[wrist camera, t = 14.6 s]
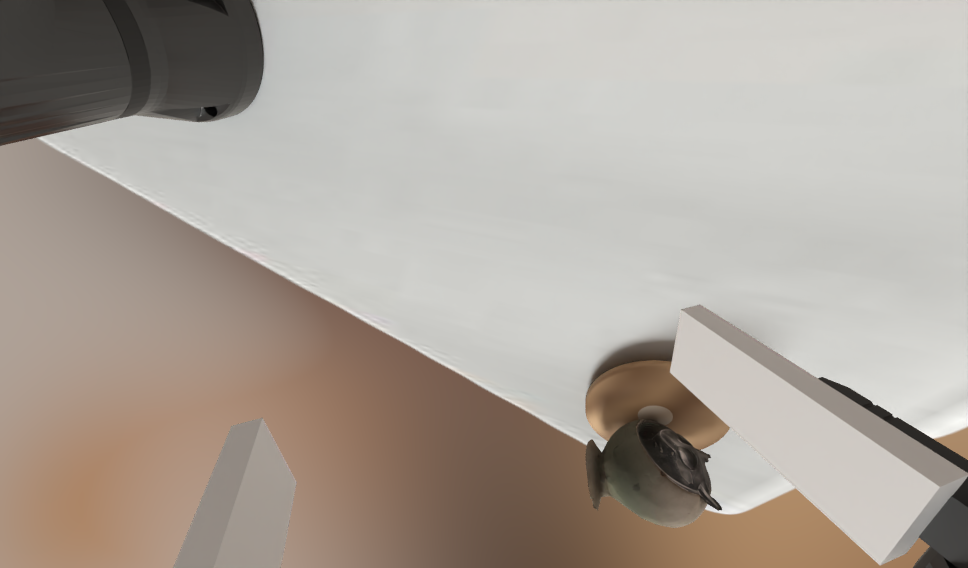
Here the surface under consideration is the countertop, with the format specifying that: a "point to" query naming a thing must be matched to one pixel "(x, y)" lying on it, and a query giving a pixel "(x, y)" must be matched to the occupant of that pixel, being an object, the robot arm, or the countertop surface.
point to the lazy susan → (650, 403)
